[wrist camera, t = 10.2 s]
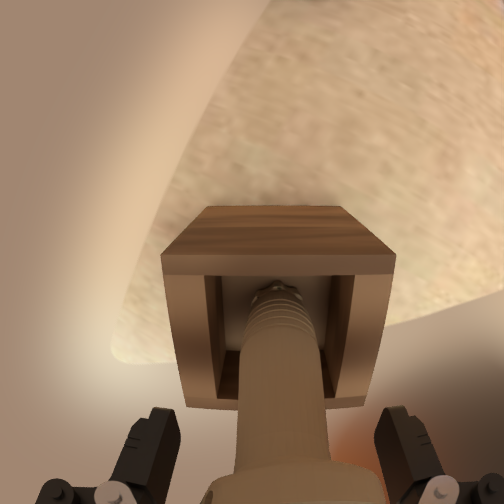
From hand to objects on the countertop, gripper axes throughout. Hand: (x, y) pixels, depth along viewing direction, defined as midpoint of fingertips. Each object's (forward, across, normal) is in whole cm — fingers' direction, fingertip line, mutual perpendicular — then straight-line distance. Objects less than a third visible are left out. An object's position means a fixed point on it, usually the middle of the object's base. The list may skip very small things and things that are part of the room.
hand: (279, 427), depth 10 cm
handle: (+11, 0, 0) cm, 11 cm away
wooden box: (+17, 0, 0) cm, 17 cm away
